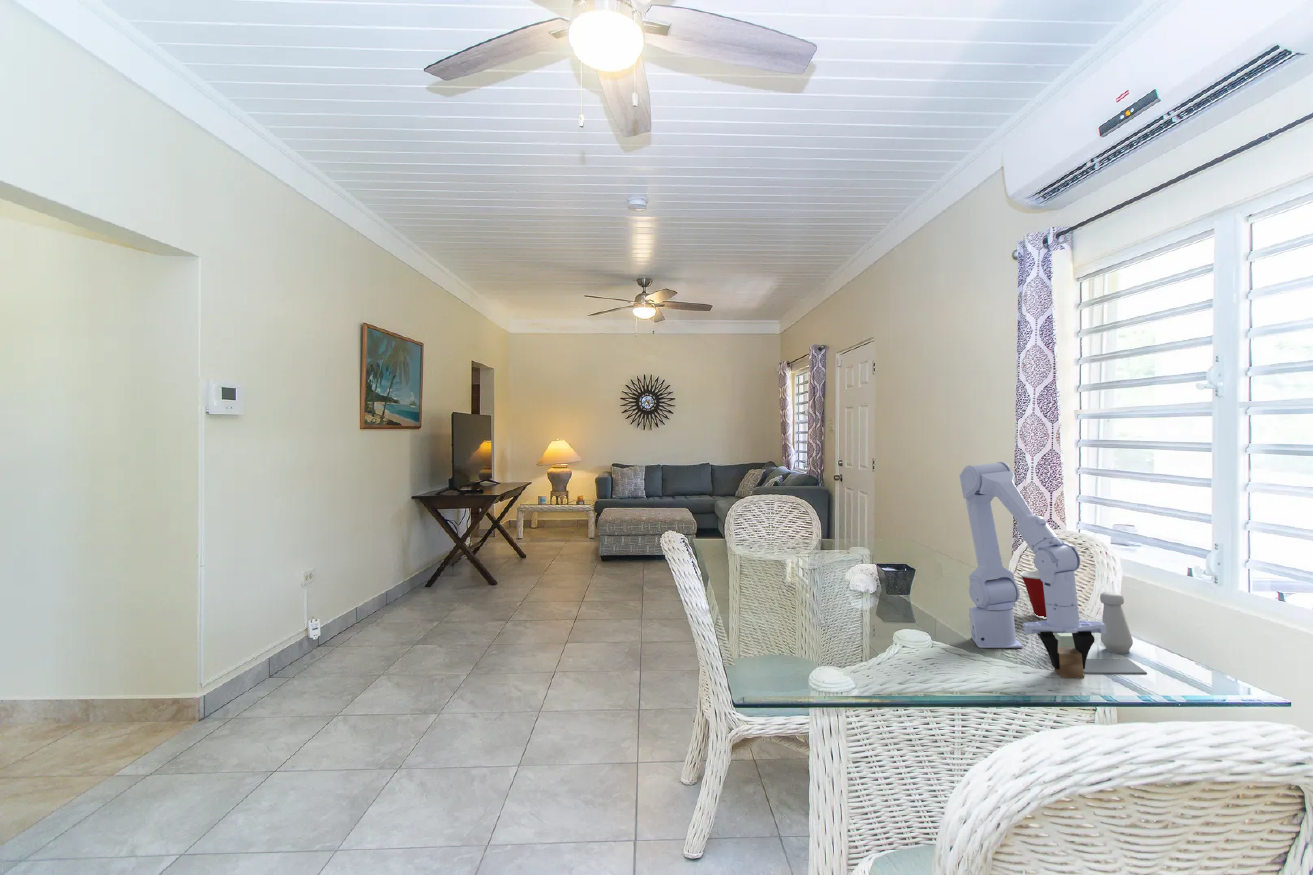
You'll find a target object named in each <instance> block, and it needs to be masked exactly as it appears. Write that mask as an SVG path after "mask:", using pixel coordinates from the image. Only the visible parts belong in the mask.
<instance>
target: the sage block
mask: <svg viewBox="0 0 1313 875" xmlns="http://www.w3.org/2000/svg"><path fill="white" fill-rule="evenodd" d="M1053 635H1055V638H1056V639H1057V640H1058V647H1074V648H1075V645H1074V640H1073V636H1072V633H1053Z"/></svg>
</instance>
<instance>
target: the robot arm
mask: <svg viewBox="0 0 1313 875" xmlns="http://www.w3.org/2000/svg"><path fill="white" fill-rule="evenodd" d="M959 479H960V485H961V490H962V496H963V499H965V504H966V508H967V514H968V520H969V526H970V530H971V535H972V541H973V545H974V552H975V557H976V562H977V563H976V564H977V567H976V569H974V571H973V572H971V573H970V575H968V578H969V579H968V580H969V587H968V593H969V597H970V599H971V601H972V602H973V604H975V606H970V607H969V608H968V617H969V624H970V634H971V636H970V638H971V639H972V641H973V642H974V643H975V644H976V646H977V647H978V648H979V649H1012V648H1013V649H1018V648H1019V649H1020V648H1021V649H1022V648H1024V646H1023V644H1022V643H1020V642H1019V640H1018V639H1017V635H1016V626H1015V625H1016V624H1015V616H1014V607H1016V603H1017V602H1018V601H1019V599H1020V596H1021V594H1020V593H1021V592H1020V587H1019V585H1018V583H1017V581H1016V580H1015V577H1014V576H1015V575H1014V573H1013V572H1012V571H1011V570H1009V569H1007V568H1006V567H1004V565H1003V561H1002V557H1001V556H1002V555H1001V550H1000V545H999V539H998V536H997V535H998V534H997V530H996V525H995V520H994V514H993V509H992V505H991V502H992V501H993V500H994V499H995V497H996V498H997V499H998V500H999V501H1000V502H1001V504H1002V505H1003V506H1004V507H1005V508H1006V509H1007V511H1009V513H1010V514H1011V515H1012V516H1013V517H1014V520H1016V522H1017V526H1016V531H1017V532H1018V533H1019V535H1020V536H1021V537H1022V539H1023V540H1024V541H1025V543H1026V544H1027V546H1028V547H1029V548H1030V550H1031V551H1032V553H1033V554H1034V558H1032V560H1033V565H1034V567H1035V569H1036V571H1038V572H1039V577H1040V579H1041V581H1043V588H1044V597H1045V606H1046V615H1047V620H1039V621H1032V622H1023V632H1024V633H1025V634H1026V635H1027V636H1028V635H1029V636H1031V635H1033V634H1037V635H1038V638H1039V639H1040V641H1041V642H1042V644H1043V647H1045V649H1046V652H1047V654H1048V656H1049V659H1050V662H1051V666H1052V667H1053V668H1055V669H1059V658H1058V640H1057V639H1056V638H1055V635H1054V633H1072V636H1073V640H1074V645H1075V649H1076V650H1078V651H1079V652H1080V653H1081V654H1082V663H1083V669H1085V663H1086V659H1088V656H1089V655H1088V654H1089V652H1090V650H1091V648H1092V646H1093V644H1094V643H1095V636H1094V635H1093V633H1096V634H1097V633H1098V634H1100V635H1101V634H1106V625H1105V624H1104V623H1102V621H1091V620H1080V613H1079V602H1078V593H1077V585H1076V577H1075V576H1076V575H1075V571H1077V570H1079V568H1080V567H1081V566H1080V565H1081V557H1080V554H1079V552H1078V551H1077V549H1076V547H1075V546H1073V544H1071V543H1068V542H1066V541H1065V540H1064V539H1063V540H1062V539H1060V538H1059V537H1058V536H1057V534H1056V533H1055V531H1054V530H1053V528H1052V527H1051V526H1050V525H1049V523H1048V522H1047V521H1046V519H1045V518H1044V517H1043V516H1041V515H1037V514H1034V513H1033V511H1032V510H1031V508H1030V507H1029V505H1028V503H1027V502H1026V500H1025V498H1024V497H1023V495H1022V494H1021V492H1020V491H1019V489H1018V487H1017V486H1016V484H1015V483H1016V475H1015V473H1014V472H1013V471H1012V469H1011V467H1010V466H1009V464H1008V463H1006V462H1004V461H998V462H995V463H985V464H976V465H967V466H965V467H964V468H963V470H962V471H961V473H960V474H959Z"/></svg>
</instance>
